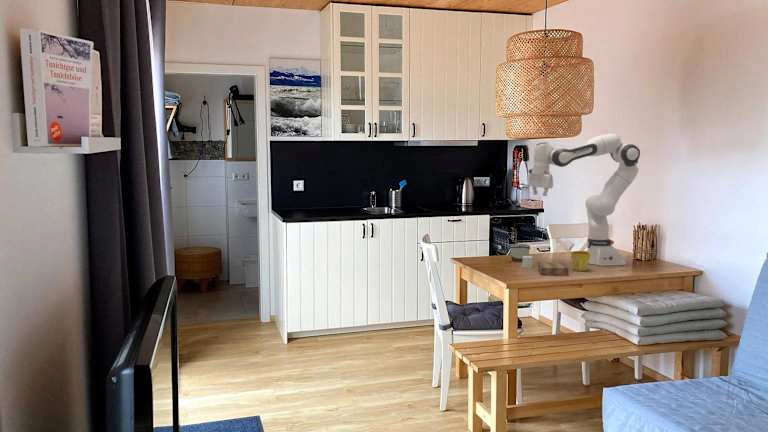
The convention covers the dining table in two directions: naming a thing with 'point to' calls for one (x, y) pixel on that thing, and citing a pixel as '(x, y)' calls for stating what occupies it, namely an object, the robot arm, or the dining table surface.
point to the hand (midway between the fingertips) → (539, 195)
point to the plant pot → (580, 260)
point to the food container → (519, 252)
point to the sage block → (527, 262)
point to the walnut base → (553, 269)
